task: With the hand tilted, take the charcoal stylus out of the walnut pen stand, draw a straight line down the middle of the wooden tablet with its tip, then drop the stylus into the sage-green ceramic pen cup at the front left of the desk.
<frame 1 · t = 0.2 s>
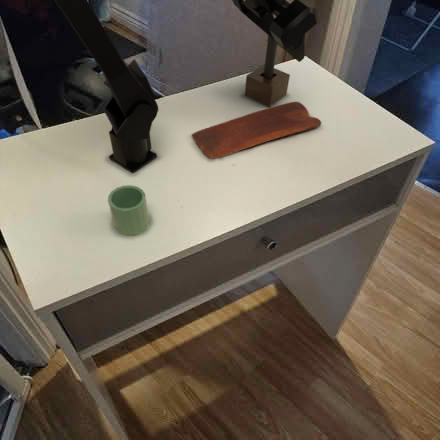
hand: (287, 48, 70), 15 cm above the table, tool tilted 35°, fingers open, 9 cm apart
pen stand: (265, 95, 88), on the table
stylus: (269, 62, 82), in the pen stand
wooden tablet: (256, 131, 80), on the table
pen cup: (132, 223, 64), on the table
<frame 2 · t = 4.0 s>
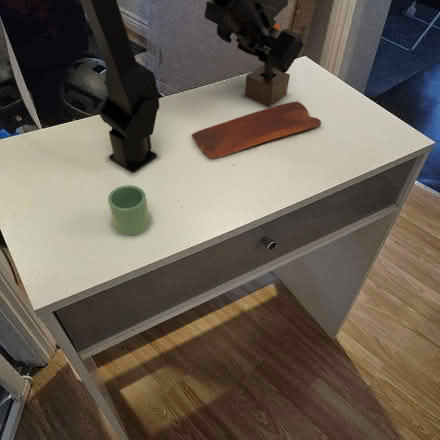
hand: (274, 60, 83), 7 cm above the table, tool tilted 45°, fingers closed on stylus, 2 cm apart
stylus: (269, 62, 82), in the pen stand, touching gripper
everything else where it was.
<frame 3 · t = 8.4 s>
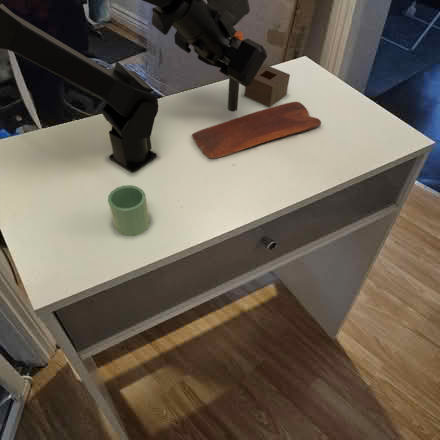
hand: (239, 71, 76), 9 cm above the table, tool tilted 45°, fingers closed on stylus, 2 cm apart
stylus: (234, 73, 75), point 9 cm above the table, touching gripper
everything else where it was.
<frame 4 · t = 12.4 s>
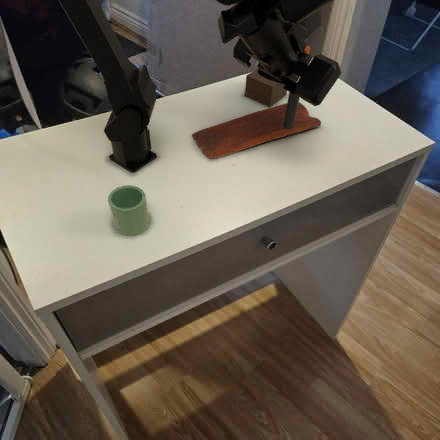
hand: (300, 87, 70), 11 cm above the table, tool tilted 45°, fingers closed on stylus, 2 cm apart
stylus: (295, 90, 69), point 11 cm above the table, touching gripper
everything else where it was.
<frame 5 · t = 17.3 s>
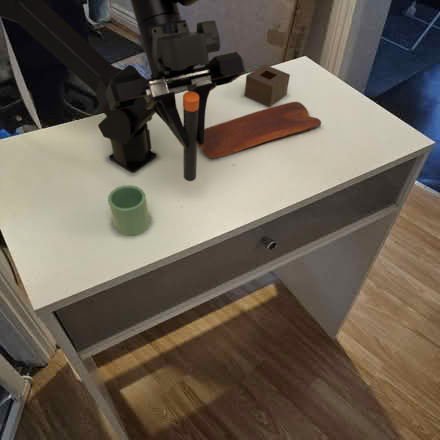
hand: (194, 146, 56), 12 cm above the table, tool tilted 40°, fingers closed on stylus, 2 cm apart
stylus: (190, 140, 57), point 12 cm above the table, tilted 6°, touching gripper
everything else where it was.
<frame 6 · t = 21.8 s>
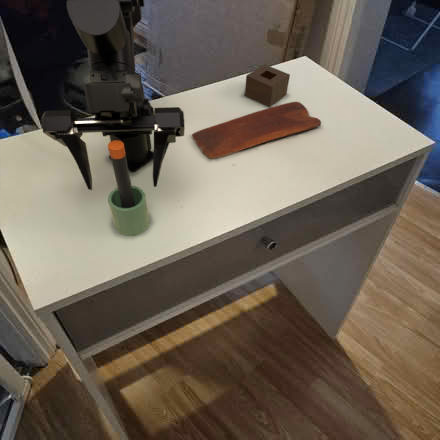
hand: (123, 188, 56), 9 cm above the table, tool tilted 45°, fingers open, 9 cm apart
stylus: (124, 186, 58), in the pen cup, point 8 cm above the table
everything else where it was.
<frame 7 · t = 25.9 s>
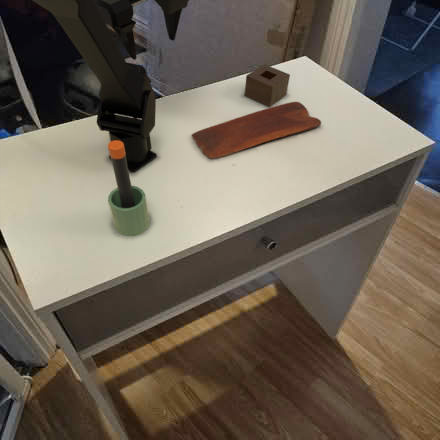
hand: (153, 49, 71), 13 cm above the table, tool pointing down, fingers open, 9 cm apart
nothing on the table moved.
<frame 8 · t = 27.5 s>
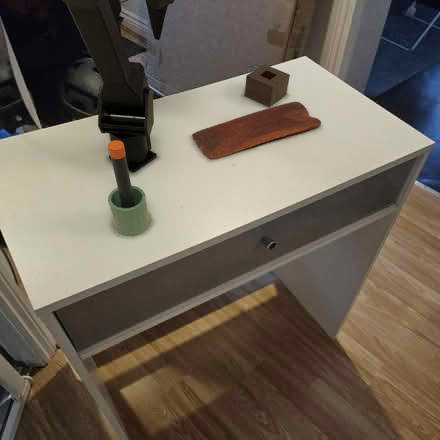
hand: (139, 47, 71), 13 cm above the table, tool pointing down, fingers open, 9 cm apart
nothing on the table moved.
at the end: stylus 0.0 cm off-centre in the pen cup, point 7.6 cm above the pen cup's base; wooden tablet moved 0.2 cm from its start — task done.
